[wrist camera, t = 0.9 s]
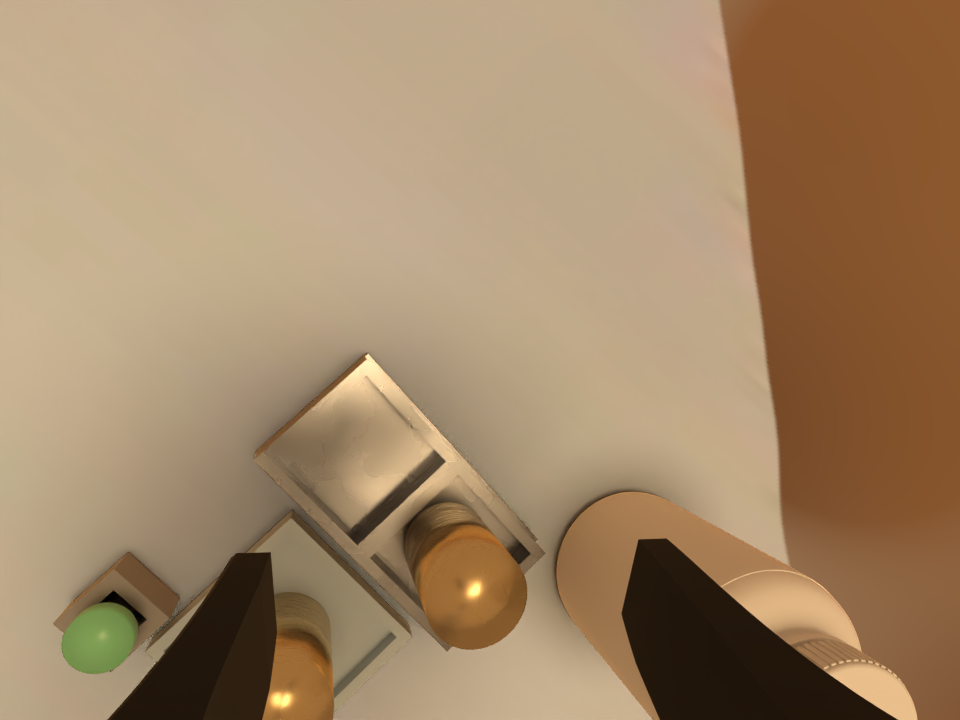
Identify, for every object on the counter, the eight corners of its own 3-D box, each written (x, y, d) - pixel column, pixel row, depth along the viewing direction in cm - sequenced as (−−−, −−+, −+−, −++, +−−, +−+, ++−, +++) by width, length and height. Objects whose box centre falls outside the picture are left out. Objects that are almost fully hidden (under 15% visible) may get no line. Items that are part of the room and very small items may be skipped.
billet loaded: (442, 603, 30) (472, 670, 24) (386, 545, 29) (402, 601, 24) (504, 542, 31) (547, 594, 25) (449, 484, 30) (481, 524, 24)
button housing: (125, 647, 28) (110, 671, 26) (71, 602, 27) (53, 624, 25) (179, 597, 28) (169, 618, 26) (128, 552, 28) (114, 569, 26)
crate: (434, 628, 31) (443, 654, 29) (255, 451, 29) (249, 463, 26) (531, 532, 32) (548, 549, 30) (366, 352, 30) (370, 355, 27)
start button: (118, 649, 27) (96, 686, 24) (74, 612, 26) (46, 645, 24) (164, 608, 27) (146, 640, 24) (121, 570, 27) (98, 598, 24)
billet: (282, 695, 29) (274, 788, 23) (219, 638, 28) (194, 720, 23) (349, 631, 30) (356, 707, 24) (289, 574, 29) (281, 637, 23)
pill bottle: (519, 570, 32) (685, 776, 18) (628, 456, 33) (867, 562, 19) (617, 667, 34) (841, 929, 19) (717, 556, 35) (1000, 725, 20)
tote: (280, 750, 30) (279, 767, 29) (152, 638, 28) (144, 652, 27) (408, 624, 31) (411, 636, 30) (292, 510, 29) (291, 517, 28)
